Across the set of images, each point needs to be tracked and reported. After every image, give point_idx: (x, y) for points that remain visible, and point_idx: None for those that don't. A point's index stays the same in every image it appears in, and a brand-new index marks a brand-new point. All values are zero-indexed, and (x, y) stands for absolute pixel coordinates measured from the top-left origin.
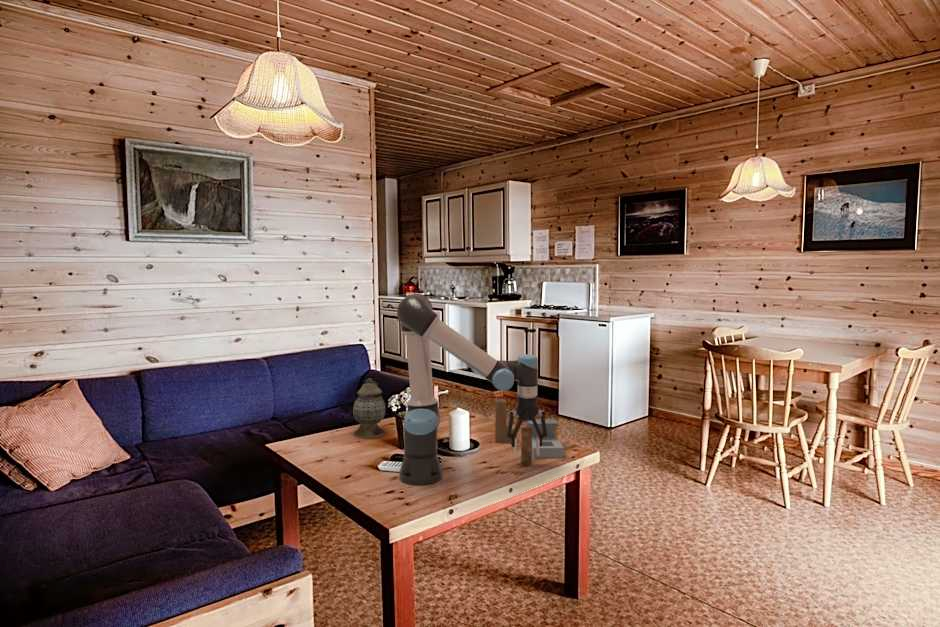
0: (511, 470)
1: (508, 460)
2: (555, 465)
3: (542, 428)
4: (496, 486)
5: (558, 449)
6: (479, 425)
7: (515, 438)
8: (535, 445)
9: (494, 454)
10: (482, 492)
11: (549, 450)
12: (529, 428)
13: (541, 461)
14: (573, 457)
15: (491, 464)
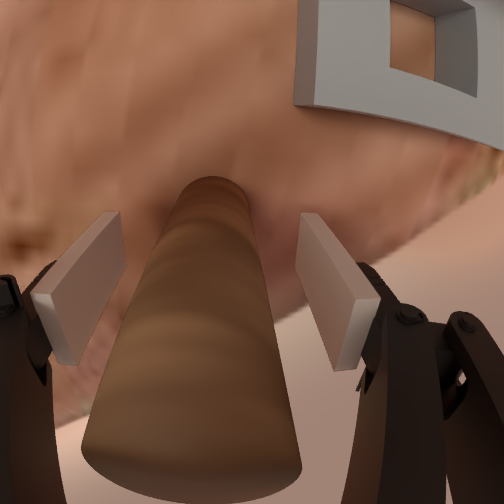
0: (115, 297)
1: (101, 135)
2: (384, 247)
3: (466, 415)
4: (82, 407)
5: (477, 141)
6: None
7: (55, 339)
8: (349, 32)
9: (38, 34)
10: (57, 422)
11: (427, 126)
12: (242, 482)
13: (330, 171)
14: (498, 150)
15: (15, 206)
